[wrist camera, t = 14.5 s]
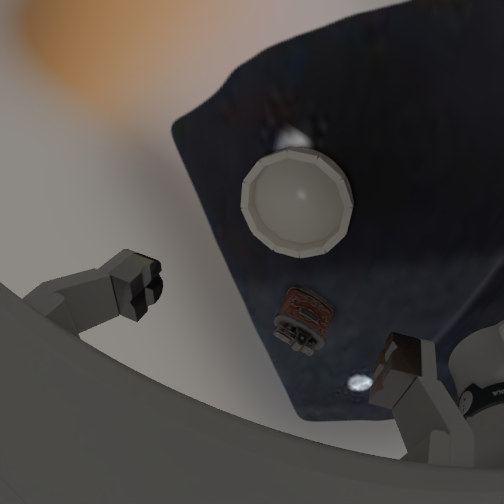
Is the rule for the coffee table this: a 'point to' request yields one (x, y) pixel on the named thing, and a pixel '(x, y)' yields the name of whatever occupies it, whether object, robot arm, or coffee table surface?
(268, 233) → the ring dish
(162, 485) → the robot arm
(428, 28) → the coffee table surface
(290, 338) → the lighter
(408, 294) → the coffee table surface
